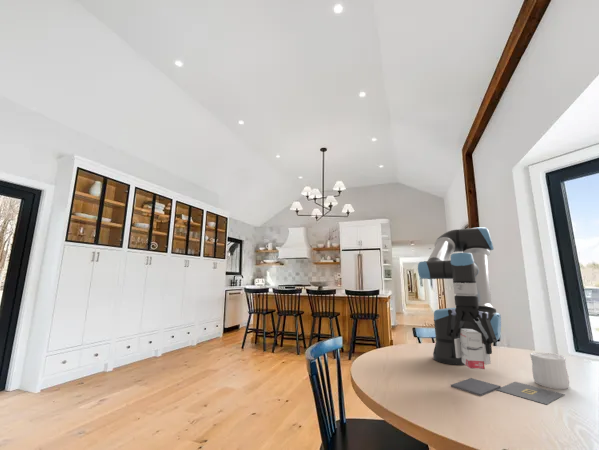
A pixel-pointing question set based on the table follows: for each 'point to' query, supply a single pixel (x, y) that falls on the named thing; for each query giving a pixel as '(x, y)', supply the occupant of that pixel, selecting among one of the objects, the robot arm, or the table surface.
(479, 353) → the ink box
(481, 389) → the felt pad
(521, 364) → the table surface
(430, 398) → the table surface
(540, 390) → the slate mat
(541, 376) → the cup
